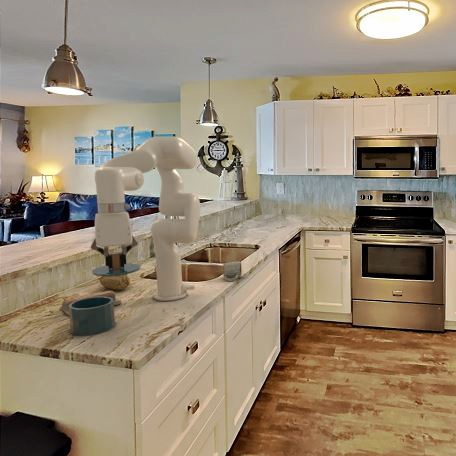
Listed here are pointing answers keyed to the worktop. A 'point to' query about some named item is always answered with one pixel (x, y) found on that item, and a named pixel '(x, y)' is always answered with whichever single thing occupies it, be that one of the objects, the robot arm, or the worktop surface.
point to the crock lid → (116, 267)
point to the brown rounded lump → (115, 281)
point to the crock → (91, 315)
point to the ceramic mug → (232, 270)
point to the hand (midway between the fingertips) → (116, 266)
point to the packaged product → (101, 294)
